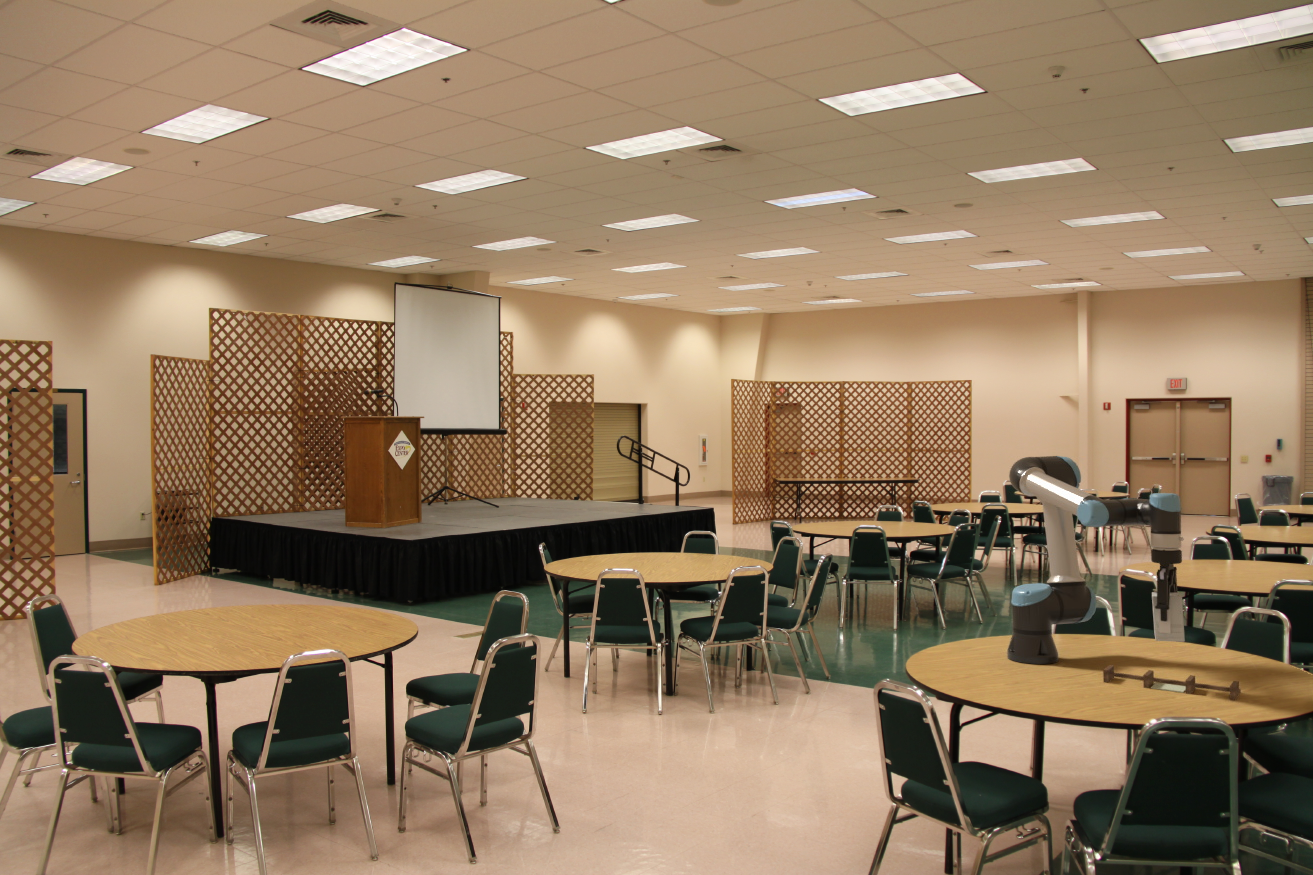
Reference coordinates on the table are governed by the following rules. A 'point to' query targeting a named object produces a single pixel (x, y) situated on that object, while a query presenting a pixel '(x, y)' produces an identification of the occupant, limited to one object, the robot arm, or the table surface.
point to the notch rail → (1171, 681)
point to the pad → (1169, 687)
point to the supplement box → (1175, 619)
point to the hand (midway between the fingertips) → (1168, 629)
